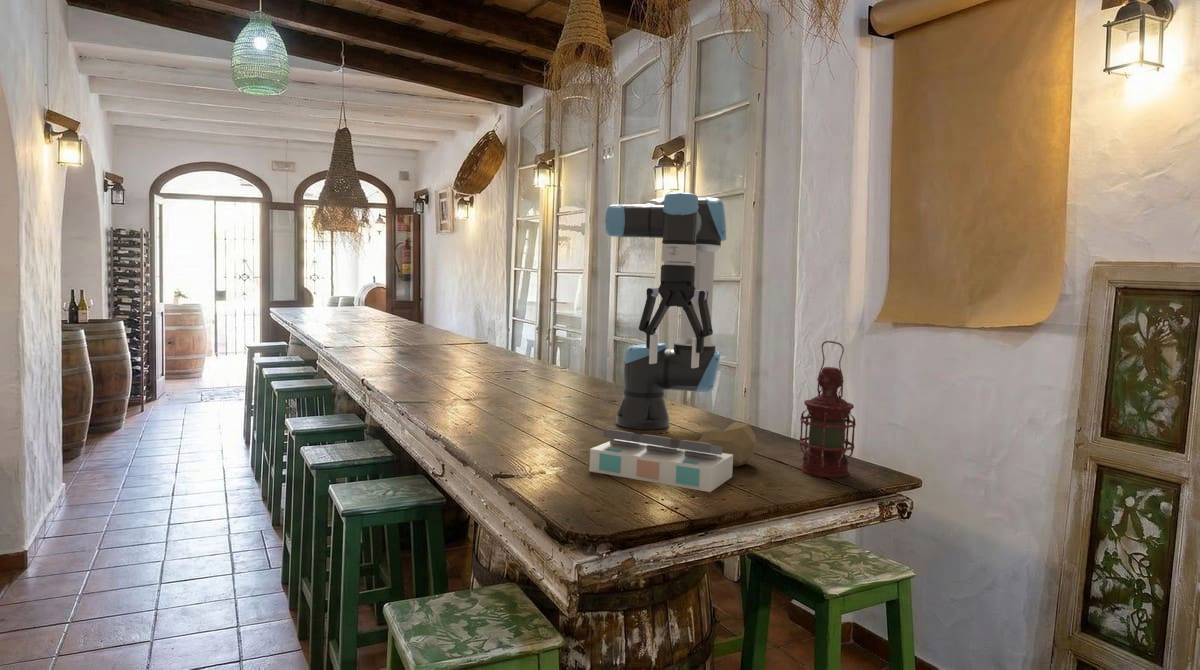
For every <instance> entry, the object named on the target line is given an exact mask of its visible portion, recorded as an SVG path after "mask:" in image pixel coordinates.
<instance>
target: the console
mask: <svg viewBox="0 0 1200 670" xmlns="http://www.w3.org/2000/svg"><path fill="white" fill-rule="evenodd" d="M733 468H734V467H733V455H732V454H726V453H722V455H718V454H712V453H705V452H698V451H692V450H685V449H678V448H672V447H665V446H658V445H652V444H645V443H638V442H631V441H625V440H618V439H610V440H609V441H606V442H604V443H602V444H598V445H597V446H594V447H591V448H589V469H588V470H589V471H588V472H590V473H591V472H592V473H597V474H598V473H599V474H603V475H604V474H605V475H610V476H615V477H621V478H626V479H627V478H628V479H632V480H638V481H644V482H649V483H656V484H662V485H666V486H667V485H668V486H672V487H673V486H674V487H678V488H683V489H689V490H696V491H701V492H702V491H703V492H706V493H711V492H713V491H714V490H715V489H717V488H718V487H720V486H721V485H723V484H724V483H725V482H727V481H728V480H730V479H731V478H732V477H733Z"/></svg>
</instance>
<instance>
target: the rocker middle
mask: <svg viewBox="0 0 1200 670" xmlns="http://www.w3.org/2000/svg"><path fill="white" fill-rule="evenodd" d="M640 435H641V437H640V443H645V444H652V445H658V446H665V447H672V448H678V447H679V440H680V439H674V438H672V437H666V436H660V435H653V434H645V433H643V434H640ZM678 449H679V448H678Z"/></svg>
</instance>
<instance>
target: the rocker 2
mask: <svg viewBox="0 0 1200 670" xmlns="http://www.w3.org/2000/svg"><path fill="white" fill-rule="evenodd" d="M678 440H679V447H678V448H679V449H685V450H692V451H698V452H705V453H712V454H718V455H722V449H723V447H722V446H716V445H711V444H709V443H702V442H698V441H694V440H687V439H681V440H680V439H678Z"/></svg>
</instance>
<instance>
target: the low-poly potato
mask: <svg viewBox="0 0 1200 670" xmlns="http://www.w3.org/2000/svg"><path fill="white" fill-rule="evenodd" d="M697 442H702V443H709V444H711V445H716V446H722V447H723V449H722V453H726V454H732V455H733V466H735V467H736V468H737V467H742V466H744V465H745V464H746V463H747V462H749V460H750V459H751V458H752V457H753V455H754V453H755V450H756V448H757V435H756V434H755V432H754V431H753V429H752V427H751V425H750V424H749V423H744V422H737V421H733V422H732V423H731V424H730V425H729V426H727V427H726V428H725V429H724V430H722V431H715V430H713V431H710V430H709V431H706V432H704V434H703V435H702V436H701V437H700V438H699V439H698V440H697ZM735 467H734V468H735Z"/></svg>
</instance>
